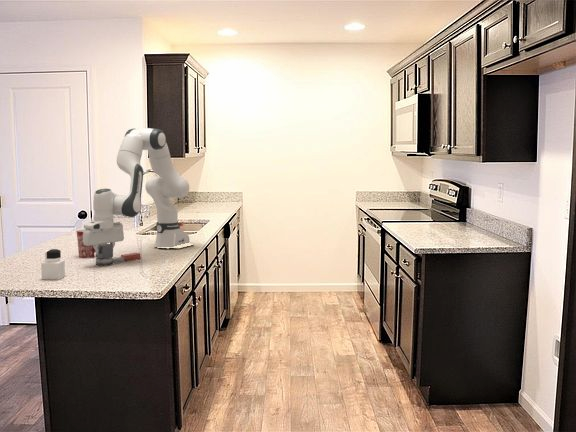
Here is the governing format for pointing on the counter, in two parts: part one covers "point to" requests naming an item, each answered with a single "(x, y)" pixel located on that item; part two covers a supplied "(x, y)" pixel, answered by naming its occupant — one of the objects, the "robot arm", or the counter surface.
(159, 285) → the counter surface
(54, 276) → the medicine bottle
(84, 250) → the mug
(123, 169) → the robot arm
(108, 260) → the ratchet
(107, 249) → the matte grey cube
